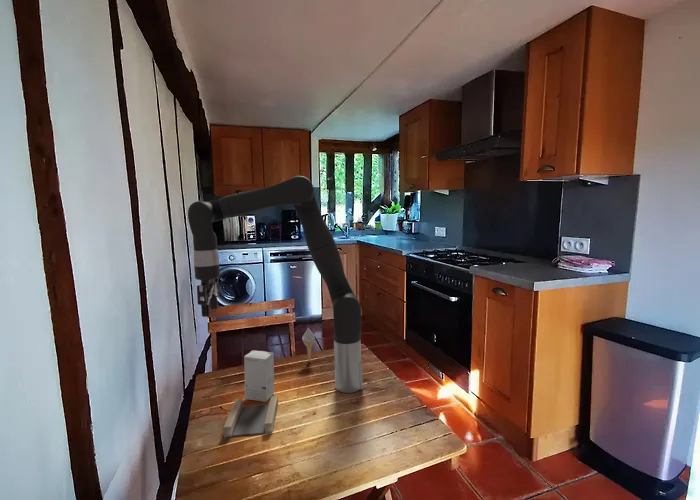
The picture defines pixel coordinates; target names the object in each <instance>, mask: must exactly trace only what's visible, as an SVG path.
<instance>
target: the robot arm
mask: <svg viewBox="0 0 700 500" xmlns="http://www.w3.org/2000/svg"><path fill="white" fill-rule="evenodd" d="M284 205H292V206H293V208H294V210H295V212H296V214H297V216H298V218H299V222H300V223H301V227H302V230H303V235H304V239H305V243H306V246H307V248H308V251H309V254H310V256H311V259H312V261H313V263H314V265H315V267H316V269H317V270H318V273H319V274H320V276H321V277H322V279H323V281H324V283H325V285H326V287H327V291H328V293H329V296H330V297H329V298H330V300H331V304H332V311H333V312H332V313H333V314H332V315H333V351H334V352H333V353H334V355H333V356H334V383H335V384H334V385H335V390H336V391H338V392H341V393H344V394H346V393H347V394H351V393H352V394H353V393H356V392H357V391H362V390H363V387H364V386H363V363H362V352H361V351H362V350H361V349H362V348H361V344H362V343H361V342H362V341H361V335H362V309H361V304H360V301H359V300H358V298H357V296H356V294H355V293H354V291H353V289H352V288H351V285H350V283H349V281H348V279H347V277H346V273H345V271H344V267H343V266H344V265H343V261H342V258H341V255H340V251H339V248H338V246H337V244H336V241H335V239H334V237H333V235H332V232H331V230H330V228H329V227H328V224H327V223H326V221H325V219H324V218H323V216H322V213H321V211H320V208H319V204H318V202H317V197H316V194H315V187H314V185H313V183H312V181H311V180H310V179H309V178H307V177H306V176H302V175H296V176H295V175H294V176H292V177H290V178H289V179H286V180H284V181H282V182H279V183H277V184H273V185H271V186H270V185H269V186H267V187H266V186H265V187H263V188H258V189H255V190H254V189H253V190H249V191H244V192H239V193H233V194H230V195H225V196H222V197H221V198H220V199H214V200H210V201H209V200H207V201H200V200H199V201H197V200H196V201H195V202H194V201H193V202H192V203H191V204H190V205H189V207H188V210H187V219H188V223H189V227H190V228H189V229H190V232H191V235H192V239H193V240H192V243H193V244H192V245H193V266H194V269H193V270H194V278H195V280H198V281H200V284H199V285H196V297H197V298H196V299H197V305H199V306H201V317H203V318H205V317H209V316H210V314H211V313H210V309H211V310H217V309H218V308H219V307H218V306H219V305H218V303H219V302H218V297H219V295H220V286H219V285H220V284H219V278H220V277H221V271H220V270H221V268H220V256H219V250H218V237H217V235H216V232H214V229H213V228H214V227H213V223H214V222H219V221H222V220H226V219H230V218H231V219H232V218H237V217H240V216H244V215H248V214H252V213H255V212H258V211H261V210H265V209H268V208H272V207H275V206H276V207H277V206H284Z"/></svg>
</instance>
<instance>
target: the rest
mask: <svg viewBox="0 0 700 500" xmlns="http://www.w3.org/2000/svg"><path fill="white" fill-rule="evenodd" d="M243 401H244V400H243V398H235V400H234V402H233V405H232V407H231V409H230V412H229V413H228V416H227V419H226V421H225V423H224V425H223V435H224V436H223V437H224V438H231V437H242V436H243V437H245V436H255V435H265V434H266V435H268V434H273V432H274V428H275V421H276V417H277V413H278V407H279V399H278V395H272V396H271V397H270V400H269V404H268V403H267V404H257V405H246V406H245V405H244V403H243Z"/></svg>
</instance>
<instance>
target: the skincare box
mask: <svg viewBox="0 0 700 500" xmlns="http://www.w3.org/2000/svg"><path fill="white" fill-rule="evenodd" d="M274 354H275V353H274V352H269V351H265V350H251V351H249V353H247V354H245V355H244V357H243V358H244V361H243V362H244V365H243V366H244V375H243V376H244V399H245V400H249V401H251V400H252V401H258V402H263V403H265V402H268V401H269V399H271V396H274V394H275V364H274V363H275V358H274V357H275V356H274Z"/></svg>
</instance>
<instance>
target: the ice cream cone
mask: <svg viewBox="0 0 700 500" xmlns="http://www.w3.org/2000/svg"><path fill="white" fill-rule="evenodd" d="M301 339H302V343H303V345H304V346H305V347H306V351H307V357H308V362H309V363H310V362H311V361H312V359H311V358H312V348H313V345H314V344H315V341H316V335H315V334H314V332H313V331H311V329H310V327H309V326H308V327H307V329H306V331H305V332H304V334H303V335H302V337H301Z"/></svg>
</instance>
